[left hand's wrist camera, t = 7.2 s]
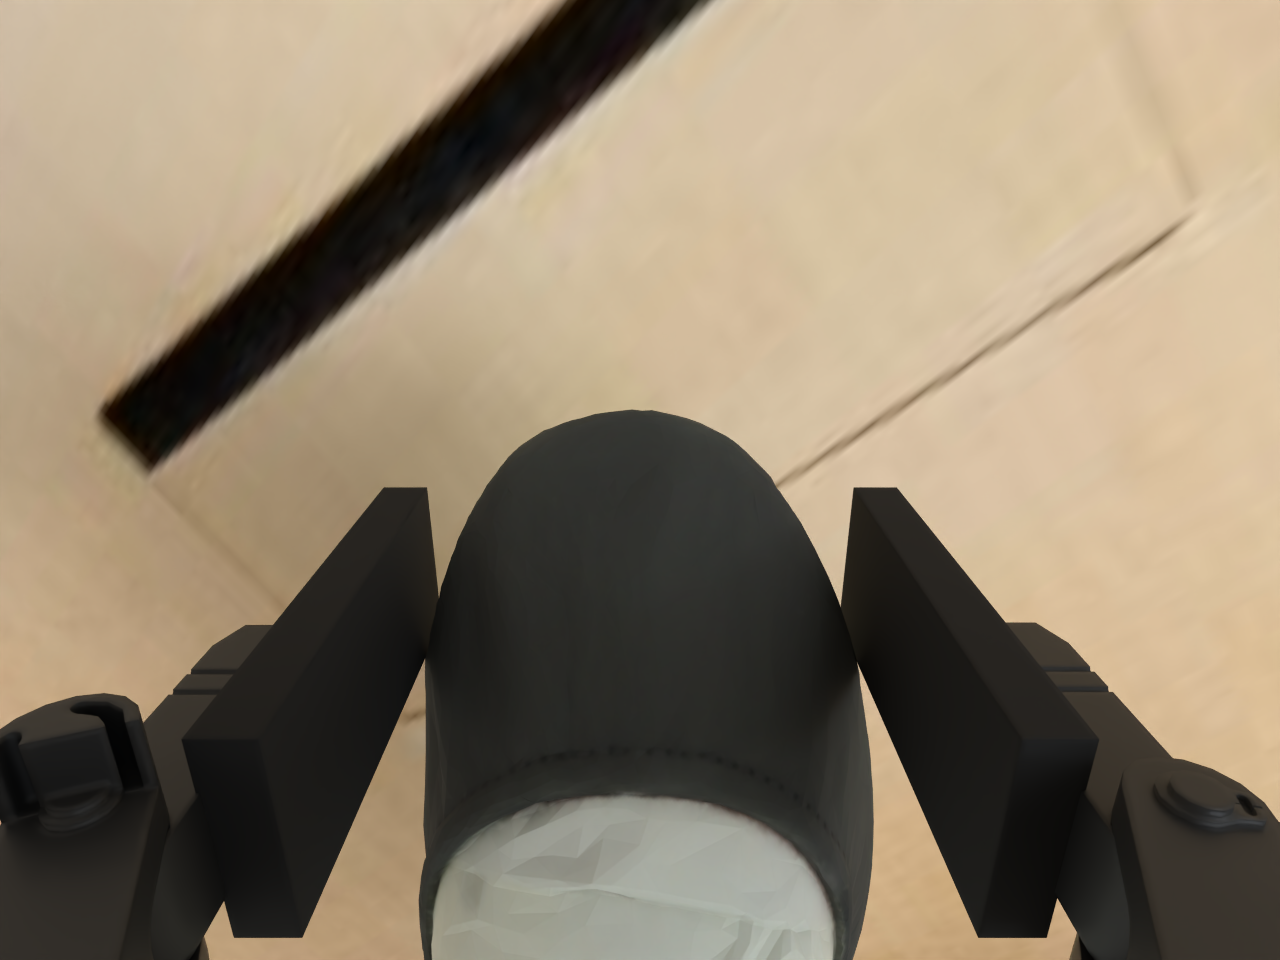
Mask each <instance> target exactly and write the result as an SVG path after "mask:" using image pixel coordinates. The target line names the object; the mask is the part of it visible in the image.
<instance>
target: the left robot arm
mask: <svg viewBox="0 0 1280 960" xmlns="http://www.w3.org/2000/svg"><path fill="white" fill-rule="evenodd" d="M438 599H439V595H438V586H437V577H436V567H435V558H434V549H433V540H432V530H431V521H430V512H429V503H428V493H427V488H383V489H382V490H381V492H380V493H379V494H378V495H377V497H376V498H375V499H374V500H373V502H372V503H371V504H370V505H369V507H368V508H367V509H366V510H365V512H364V513H363V514H362V515H361V517H360V518H359V519H358V520H357V522H356V523H355V524H354V525H353V527H352V528H351V529H350V530H349V531H348V533H347V534H346V535H345V536H344V538H343V539H342V540H341V541H340V543H339V544H338V545H337V546H336V548H335V549H334V550H333V551H332V553H331V554H330V555H329V556H328V558H327V559H326V560H325V561H324V563H323V564H322V565H321V566H320V567H319V569H318V570H317V571H316V572H315V574H314V575H313V576H312V577H311V579H310V580H309V581H308V582H307V584H306V585H305V586H304V587H303V589H302V590H301V591H300V592H299V594H298V595H297V596H296V597H295V599H294V600H293V601H292V602H291V603H290V605H289V606H288V607H287V608H286V610H285V611H284V612H283V613H282V615H281V616H280V617H279V618H278V620H277V621H276V622H275V623H274V625H245V626H243V627H242V628H240V629H239V630H237V631H235V632H234V633H232V634H231V635H229V636H227V637H226V638H224V639H223V640H221V641H219V642H218V643H216V644H215V645H213V646H212V647H211V648H210V649H209V650H208V651H207V653H206V654H205V655H204V656H203V657H202V658H201V659H200V660H199V661H198V663H197V664H196V665H195V666H194V667H193V668H192V669H191V674H187V675H186V676H185V677H184V678H183V679H182V680H181V682H180V683H179V684H178V685H177V686H176V687H175V688H174V689H173V695H168V696H167V697H166V698H165V699H164V700H163V702H162V703H161V704H160V705H159V706H158V707H157V708H156V709H155V711H154V712H153V713H152V714H151V715H150V716H149V717H148V718H147V719H146V721H145V722H144V723H143V721H142V718H141V714H140V711H139V707H138V705H137V704H135V703H134V702H133V701H131V700H130V699H129V698H127V697H126V696H120V695H113V694H106V693H102V694H92V695H83V696H75V697H72V698H68V699H65V700H61V701H58V702H54V703H51V704H47V705H44V706H42V707H40V708H38V709H36V710H34V711H31V712H29V713H27V714H25V715H23V716H20V717H18V718H16V719H15V720H13V721H12V722H10V723H9V724H7V725H6V726H4V727H3V728H1V729H0V820H1V825H0V960H209V954H208V949H207V945H206V942H205V938H204V935H205V933H206V931H207V930H208V928H209V926H210V924H211V923H212V921H213V919H214V917H215V916H216V914H217V912H218V910H219V908H220V907H221V905H222V903H223V901H224V902H225V906H226V910H227V913H228V917H229V921H230V925H231V928H232V932H233V936H234V938H302V937H303V935H304V933H305V930H306V928H307V926H308V923H309V921H310V919H311V917H312V914H313V912H314V910H315V908H316V905H317V903H318V901H319V898H320V896H321V894H322V892H323V889H324V887H325V885H326V883H327V880H328V878H329V876H330V873H331V871H332V869H333V867H334V864H335V862H336V860H337V857H338V855H339V853H340V851H341V848H342V846H343V844H344V842H345V839H346V837H347V835H348V832H349V830H350V828H351V826H352V823H353V821H354V819H355V817H356V814H357V812H358V810H359V807H360V805H361V803H362V801H363V798H364V796H365V794H366V791H367V789H368V787H369V785H370V782H371V780H372V778H373V776H374V773H375V771H376V769H377V766H378V764H379V762H380V760H381V757H382V755H383V753H384V751H385V748H386V746H387V744H388V741H389V739H390V737H391V735H392V732H393V730H394V728H395V726H396V723H397V721H398V719H399V716H400V714H401V712H402V710H403V707H404V705H405V703H406V700H407V698H408V696H409V694H410V691H411V689H412V687H413V685H414V682H415V680H416V678H417V675H418V673H419V671H420V669H421V666H422V664H423V662H424V660H425V657H426V654H427V651H428V646H429V638H430V631H431V627H432V623H433V619H434V616H435V611H436V605H437V602H438ZM841 610H842V613H843V616H844V619H845V622H846V625H847V628H848V631H849V634H850V637H851V641H852V645H853V648H854V652H855V655H856V660H857V663H858V665H859V667H860V670H861V672H862V674H863V676H864V679H865V681H866V683H867V686H868V688H869V690H870V692H871V695H872V697H873V699H874V702H875V704H876V706H877V708H878V711H879V713H880V715H881V717H882V720H883V722H884V724H885V727H886V729H887V731H888V733H889V736H890V738H891V740H892V742H893V745H894V747H895V749H896V752H897V754H898V756H899V758H900V761H901V763H902V765H903V767H904V770H905V772H906V774H907V777H908V779H909V781H910V783H911V786H912V788H913V790H914V792H915V795H916V797H917V799H918V802H919V804H920V806H921V808H922V811H923V813H924V815H925V818H926V820H927V822H928V824H929V827H930V829H931V831H932V833H933V836H934V838H935V840H936V843H937V845H938V847H939V849H940V852H941V854H942V856H943V858H944V861H945V863H946V865H947V868H948V870H949V872H950V874H951V877H952V879H953V881H954V883H955V886H956V888H957V890H958V893H959V895H960V897H961V899H962V902H963V904H964V906H965V908H966V911H967V913H968V915H969V918H970V920H971V922H972V924H973V927H974V929H975V931H976V934H977V936H978V938H1047V934H1048V931H1049V927H1050V923H1051V919H1052V916H1053V912H1054V908H1055V904H1056V901H1057V898H1058V900H1059V902H1060V903H1061V905H1062V907H1063V909H1064V910H1065V912H1066V914H1067V916H1068V917H1069V919H1070V921H1071V923H1072V924H1073V926H1074V928H1075V930H1076V931H1077V935H1076V938H1075V942H1074V945H1073V949H1072V952H1071V956H1070V959H1069V960H1280V822H1278V820H1277V819H1276V818H1275V816H1274V815H1273V814H1272V812H1271V811H1270V810H1269V808H1268V807H1267V805H1266V804H1265V803H1264V802H1263V801H1262V800H1261V799H1259V798H1258V797H1257V796H1256V795H1254V794H1253V793H1252V792H1250V791H1249V790H1248V789H1247V788H1245V787H1244V786H1243V785H1242V784H1240V783H1238V782H1236V781H1234V780H1232V779H1230V778H1229V777H1227V776H1225V775H1223V774H1221V773H1219V772H1217V771H1215V770H1213V769H1211V768H1208V767H1204V766H1201V765H1198V764H1195V763H1192V762H1189V761H1186V760H1182V759H1174V758H1172V757H1171V756H1170V755H1169V754H1168V753H1167V751H1166V750H1165V749H1164V748H1163V747H1162V746H1161V745H1160V744H1159V743H1158V742H1157V740H1156V739H1155V738H1154V737H1153V736H1152V735H1151V734H1150V733H1149V732H1148V730H1147V729H1146V728H1145V727H1144V726H1143V725H1142V724H1141V723H1140V722H1139V720H1138V719H1137V718H1136V717H1135V716H1134V715H1133V714H1132V713H1131V712H1130V711H1129V709H1128V708H1127V707H1126V706H1125V705H1124V704H1123V703H1122V702H1121V701H1120V699H1119V698H1118V697H1117V696H1116V695H1115V694H1114V693H1113V692H1109V691H1108V686H1107V685H1106V684H1105V683H1104V682H1103V681H1102V680H1101V678H1100V677H1099V676H1098V675H1097V674H1096V673H1095V672H1091V671H1090V666H1089V665H1088V664H1087V663H1086V662H1085V661H1084V660H1083V659H1082V657H1081V656H1080V655H1079V654H1078V653H1077V652H1076V651H1075V650H1074V649H1073V647H1072V646H1071V645H1070V644H1069V643H1068V642H1066V641H1064V640H1063V639H1061V638H1059V637H1058V636H1056V635H1055V634H1053V633H1051V632H1050V631H1048V630H1047V629H1045V628H1043V627H1042V626H1040V625H1038V624H1037V623H1005V621H1004V620H1003V619H1002V618H1001V616H1000V615H999V614H998V613H997V611H996V610H995V609H994V608H993V606H992V605H991V604H990V603H989V601H988V600H987V599H986V598H985V597H984V595H983V594H982V593H981V592H980V590H979V589H978V588H977V587H976V585H975V584H974V583H973V582H972V580H971V579H970V578H969V577H968V575H967V574H966V573H965V572H964V570H963V569H962V568H961V567H960V565H959V564H958V563H957V562H956V561H955V559H954V558H953V557H952V556H951V554H950V553H949V552H948V551H947V549H946V548H945V547H944V546H943V544H942V543H941V542H940V541H939V539H938V538H937V537H936V536H935V534H934V533H933V532H932V531H931V529H930V528H929V527H928V526H927V525H926V523H925V522H924V521H923V520H922V518H921V517H920V516H919V515H918V513H917V512H916V511H915V510H914V508H913V507H912V506H911V505H910V503H909V502H908V501H907V500H906V498H905V497H904V496H903V495H902V493H901V492H900V491H899V490H898V489H897V488H854V489H853V499H852V508H851V517H850V526H849V536H848V545H847V554H846V563H845V573H844V582H843V591H842V600H841Z"/></svg>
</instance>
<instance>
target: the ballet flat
mask: <svg viewBox="0 0 1280 960" xmlns="http://www.w3.org/2000/svg"><path fill="white" fill-rule="evenodd" d="M425 688H426V769H425V801H424V825H423V826H424V837H425V849H426V859H425V861H424V865H423V870H422V876H421V885H420V894H419V917H420V930H421V938H422V948H423V951H424V960H853V957H854V953H855V950H856V947H857V943H858V940H859V937H860V934H861V930H862V925H863V920H864V915H865V910H866V905H867V899H868V893H869V886H870V878H871V870H872V853H873V825H874V819H873V787H872V776H871V758H870V749H869V740H868V734H867V727H866V720H865V713H864V706H863V700H862V693H861V687H860V676H859V670H858V665H857V660H856V655H855V652H854V648H853V645H852V641H851V637H850V634H849V631H848V628H847V625H846V622H845V619H844V616H843V613H842V610H841V607H840V604H839V601H838V599H837V596H836V594H835V591H834V589H833V587H832V584H831V582H830V580H829V577H828V575H827V573H826V571H825V569H824V567H823V565H822V563H821V561H820V559H819V556H818V554H817V552H816V550H815V548H814V546H813V544H812V543H811V541H810V539H809V537H808V535H807V533H806V531H805V530H804V528H803V526H802V524H801V522H800V521H799V519H798V518H797V516H796V515H795V513H794V512H793V510H792V509H791V507H790V506H789V504H788V503H787V502H786V500H785V499H784V497H783V496H782V494H781V493H780V491H779V490H778V489H777V488H776V486H775V484H774V482H773V480H772V478H771V477H770V476H769V475H768V474H767V472H766V471H765V470H764V469H763V468H762V467H761V466H760V465H759V464H758V463H757V462H756V461H755V460H754V459H753V458H752V457H751V456H750V455H749V454H748V453H747V452H746V451H745V450H743V449H742V448H741V447H740V446H739V445H738V444H737V443H735V442H734V441H733V440H731V439H730V438H728V437H727V436H725V435H723V434H721V433H719V432H717V431H715V430H713V429H711V428H709V427H707V426H705V425H703V424H701V423H698V422H696V421H693V420H690V419H687V418H683V417H680V416H676V415H671V414H667V413H662V412H657V411H652V410H649V411H639V410H624V411H616V412H607V413H600V414H594V415H591V416H588V417H584V418H581V419H576V420H572V421H569V422H566V423H563V424H560V425H558V426H555V427H553V428H550V429H547V430H544V431H543V432H541V433H540V434H538V435H536V436H535V437H533V438H532V439H530V440H529V441H527V442H526V443H524V444H523V445H521V446H520V447H519V448H518V449H517V450H516V451H514V452H513V453H512V454H511V455H510V456H509V457H508V458H507V460H506V461H505V462H504V464H503V465H502V466H501V467H500V468H499V470H498V472H497V473H496V474H495V476H494V477H493V478H492V480H491V481H490V482H489V483H488V485H487V486H486V488H485V490H484V492H483V494H482V495H481V497H480V498H479V500H478V501H477V503H476V505H475V507H474V508H473V510H472V512H471V514H470V515H469V517H468V519H467V522H466V524H465V526H464V528H463V530H462V532H461V534H460V536H459V538H458V541H457V544H456V548H455V550H454V552H453V555H452V557H451V560H450V563H449V566H448V569H447V572H446V575H445V578H444V581H443V583H442V586H441V591H440V597H439V599H438V602H437V605H436V611H435V616H434V619H433V623H432V627H431V631H430V638H429V646H428V651H427V654H426V657H425Z"/></svg>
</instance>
